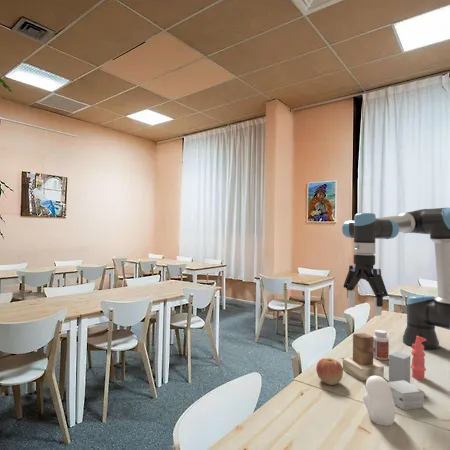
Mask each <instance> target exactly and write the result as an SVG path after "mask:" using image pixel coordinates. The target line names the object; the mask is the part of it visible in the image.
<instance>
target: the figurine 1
mask: <svg viewBox="0 0 450 450" xmlns="http://www.w3.org/2000/svg"><path fill="white" fill-rule="evenodd" d="M384 378H385V377H380V376H371V377H369V378H368V379H367V380H365V381H366V382H365V389H366V393H365V394H364V395H363V397H362V400H363V403H364V405H365V407H366V411H367V413H368V418H370V421H372V422H373V423H375V424H377V425H379V426H385V427H389V425H390V426H392V425H393V424H394V422H395V415H396V405H395V404H394V400H393V397H392V392H391V389H390V387H389V384H388V383H387V382H388V381H387V380H386V379H384Z"/></svg>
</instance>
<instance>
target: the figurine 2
mask: <svg viewBox="0 0 450 450" xmlns="http://www.w3.org/2000/svg"><path fill="white" fill-rule="evenodd" d="M416 337H417V338H416V341H415V344H412V346H411V348H412V350H411V355H412V359H411V364H410V369H412V370H411V371H412V372H411V376H412V378H413V379H417V380H419V381H421V380H425V372H426V371H427V368H426V366H425V361H426V360H425V356H426V353H425V351H424V350H425V349H424V345H422V344H421V343H422V342H424V341H427V340H426V339H425V338H422V337H420V336H416Z"/></svg>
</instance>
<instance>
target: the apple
mask: <svg viewBox="0 0 450 450" xmlns="http://www.w3.org/2000/svg"><path fill="white" fill-rule="evenodd" d="M316 375H317V376H318V379H320V381H322V382H323V383H325V384H327V385H329V386H334V385H337V384H339V383H340V381H342V378H343V375H344V370H343V365H342V364H341V362H340V361H338V360H337V359H334V358H321V359H320V360H318V362H317V363H316Z"/></svg>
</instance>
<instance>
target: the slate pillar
mask: <svg viewBox="0 0 450 450" xmlns="http://www.w3.org/2000/svg"><path fill="white" fill-rule="evenodd" d="M402 380H405V381H407V382H408V383H410V384H411V355H409V354H405V353H402V352H398V351H393V352H391V353H389V358H388V382H394V381H402Z"/></svg>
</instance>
